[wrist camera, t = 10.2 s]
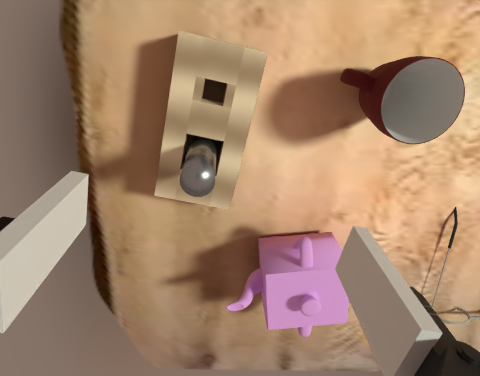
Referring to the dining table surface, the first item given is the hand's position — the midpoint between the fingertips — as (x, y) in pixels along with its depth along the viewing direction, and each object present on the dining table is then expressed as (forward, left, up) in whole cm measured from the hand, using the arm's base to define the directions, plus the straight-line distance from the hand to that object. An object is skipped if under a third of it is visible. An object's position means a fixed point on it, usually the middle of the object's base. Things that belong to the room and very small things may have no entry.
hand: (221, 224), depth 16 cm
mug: (-7, +16, -27) cm, 32 cm away
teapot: (+18, +14, -27) cm, 35 cm away
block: (+1, -2, -27) cm, 27 cm away
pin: (+3, -2, -26) cm, 26 cm away
